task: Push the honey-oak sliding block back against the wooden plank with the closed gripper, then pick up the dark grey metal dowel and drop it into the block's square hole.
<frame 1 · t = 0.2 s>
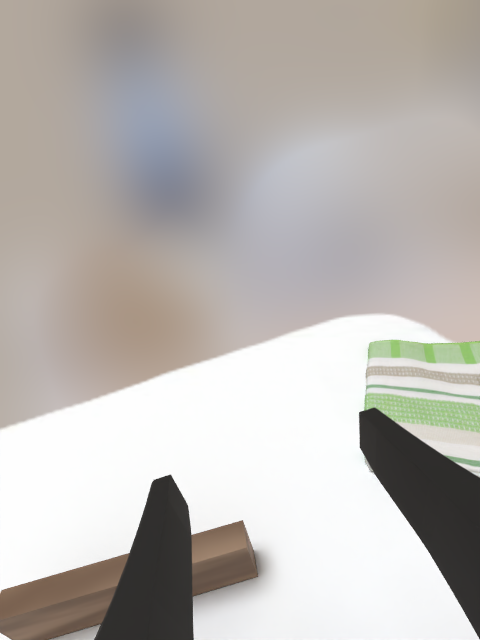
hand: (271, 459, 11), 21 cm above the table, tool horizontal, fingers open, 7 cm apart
wooden plank: (144, 595, 25), on the table
dish towel: (438, 406, 37), on the table
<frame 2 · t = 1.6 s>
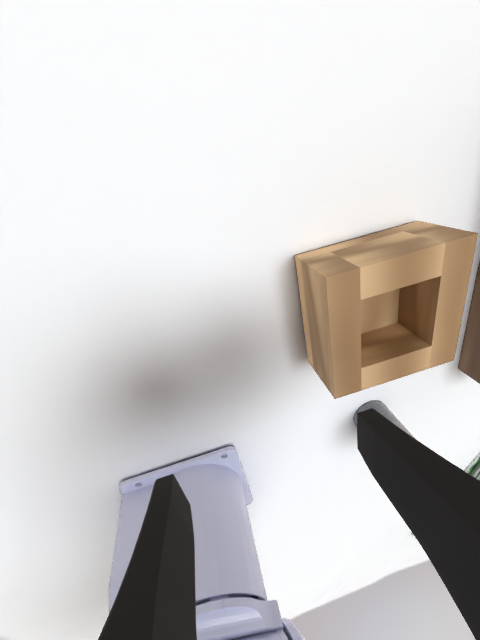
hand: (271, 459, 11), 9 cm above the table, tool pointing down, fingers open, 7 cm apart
dowel: (369, 413, 26), on the table
block: (376, 309, 18), point 2 cm above the table, slide at 5.0 cm
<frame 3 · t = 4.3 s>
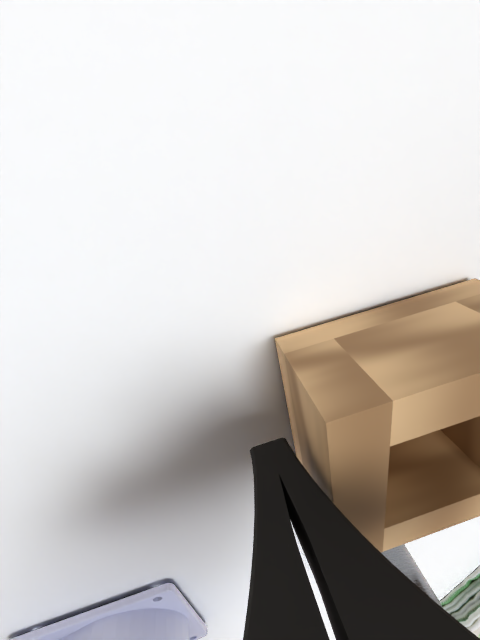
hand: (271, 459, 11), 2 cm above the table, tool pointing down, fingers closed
dowel: (364, 524, 19), on the table
block: (407, 421, 11), point 2 cm above the table, slide at 3.6 cm, touching gripper
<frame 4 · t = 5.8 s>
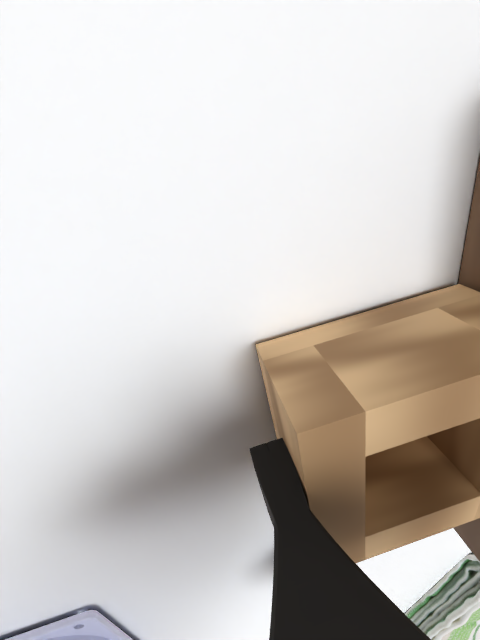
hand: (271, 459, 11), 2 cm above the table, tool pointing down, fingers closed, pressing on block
wooden plank: (464, 355, 13), on the table
block: (390, 428, 11), point 2 cm above the table, slide at -0.1 cm, touching gripper
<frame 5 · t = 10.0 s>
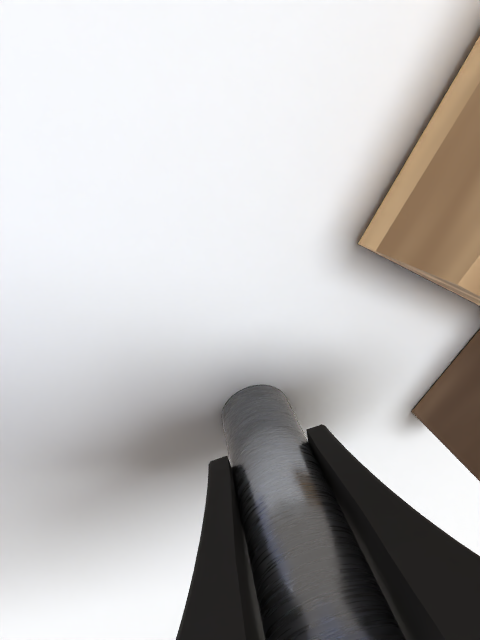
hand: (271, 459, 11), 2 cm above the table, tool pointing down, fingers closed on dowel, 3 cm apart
dowel: (255, 412, 13), on the table, touching gripper
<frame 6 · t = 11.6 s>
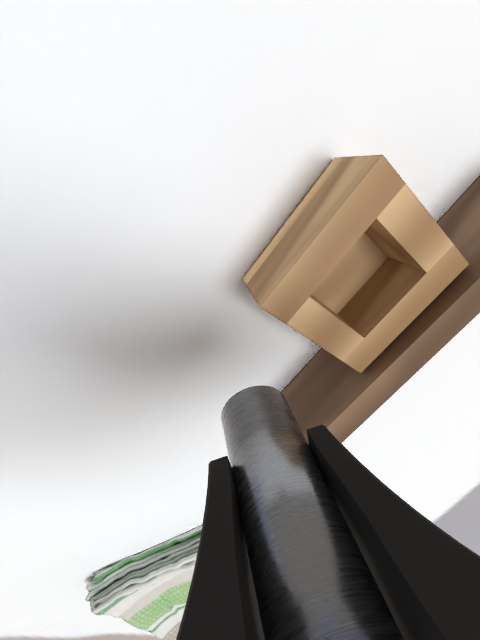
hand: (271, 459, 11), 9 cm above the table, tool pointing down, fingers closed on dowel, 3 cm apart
wooden plank: (378, 303, 20), on the table
dowel: (254, 412, 13), point 7 cm above the table, touching gripper
block: (348, 272, 16), point 2 cm above the table, slide at 0.0 cm
dish towel: (210, 574, 35), on the table
when the fingers open (5 cm above the table, at t = 13.5 s): dowel drops 2 cm, resting on block.
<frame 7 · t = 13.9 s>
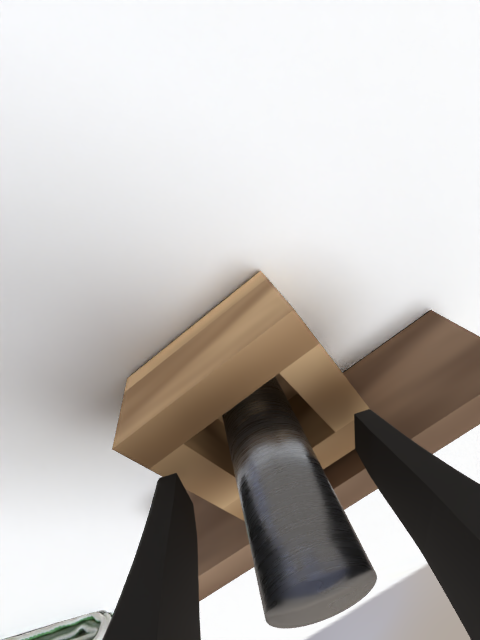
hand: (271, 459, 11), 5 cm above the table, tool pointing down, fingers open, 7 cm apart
wooden plank: (293, 422, 18), on the table
dowel: (248, 389, 14), point 1 cm above the table, touching block
block: (252, 402, 13), point 2 cm above the table, slide at 0.0 cm, touching dowel
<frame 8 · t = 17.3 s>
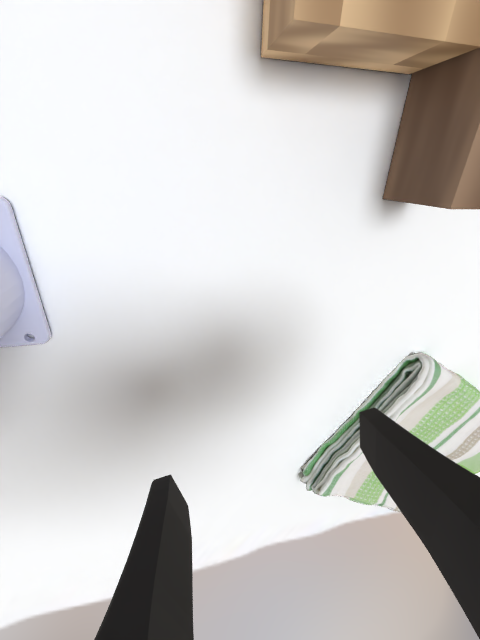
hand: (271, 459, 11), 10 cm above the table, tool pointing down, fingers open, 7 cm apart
dish towel: (411, 439, 33), on the table
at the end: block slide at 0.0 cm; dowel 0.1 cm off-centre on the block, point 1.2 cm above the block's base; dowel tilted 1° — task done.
